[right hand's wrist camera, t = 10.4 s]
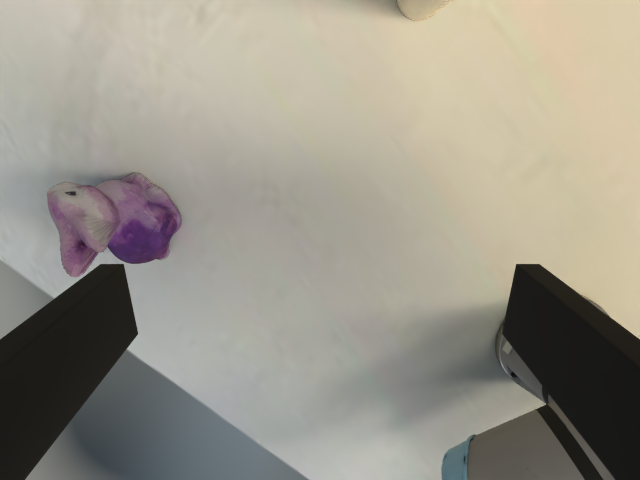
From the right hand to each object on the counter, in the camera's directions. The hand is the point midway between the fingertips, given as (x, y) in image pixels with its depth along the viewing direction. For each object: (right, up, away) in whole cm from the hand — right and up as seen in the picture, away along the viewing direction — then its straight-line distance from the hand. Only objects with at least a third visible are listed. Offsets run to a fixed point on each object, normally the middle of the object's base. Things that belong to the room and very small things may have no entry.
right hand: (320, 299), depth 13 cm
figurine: (-22, +6, +33) cm, 40 cm away
